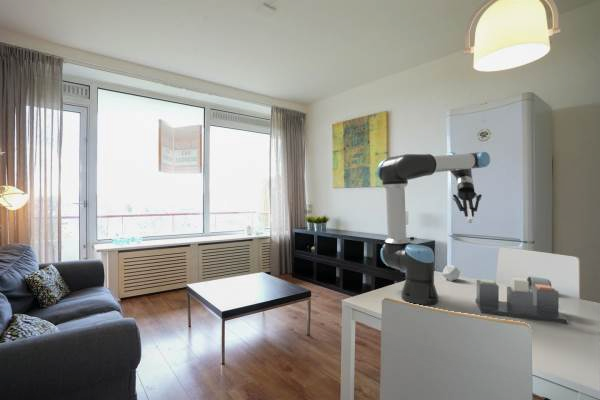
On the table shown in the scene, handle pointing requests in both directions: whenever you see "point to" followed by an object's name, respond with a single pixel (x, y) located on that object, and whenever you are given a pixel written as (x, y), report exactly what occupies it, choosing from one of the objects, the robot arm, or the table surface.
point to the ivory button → (519, 284)
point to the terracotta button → (544, 287)
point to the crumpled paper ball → (451, 273)
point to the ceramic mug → (538, 281)
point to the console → (520, 303)
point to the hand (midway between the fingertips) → (470, 220)
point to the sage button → (487, 282)
